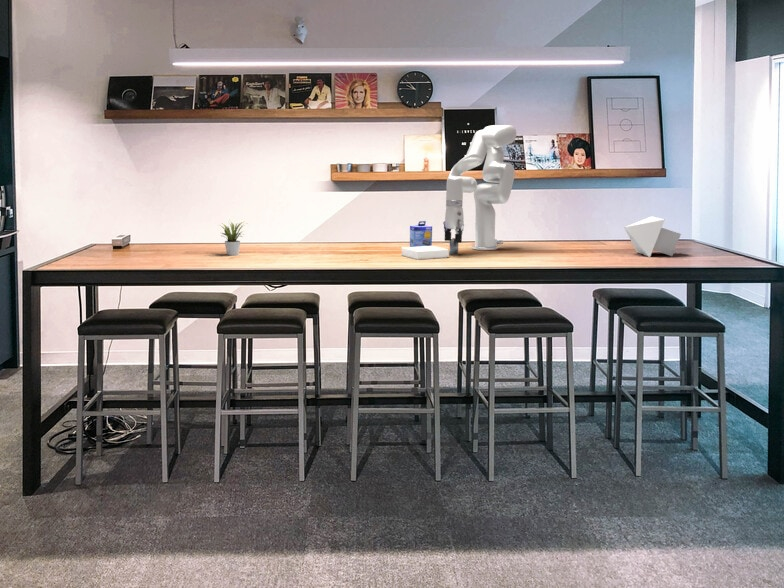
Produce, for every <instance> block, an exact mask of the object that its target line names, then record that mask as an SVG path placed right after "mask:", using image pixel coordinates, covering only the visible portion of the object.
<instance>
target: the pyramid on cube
mask: <svg viewBox="0 0 784 588" xmlns="http://www.w3.org/2000/svg"><path fill="white" fill-rule="evenodd" d="M664 223H665V219H664V218H660V217H657V216H656V217H655V216H653V215H651V216H649V217H647V218H644V219H642V220H639V221H636V222H634V223H632V224H629V225H626V226H624V227H623V228H624V230H625V232H626V234H627V235H628V238H629V239H630V241H631V244H632V246H633V247H634V250H635V251H636V253H637V254H640V255H642V254H643V256H645V257H648V258H651V256H652V253H653V251H656V252H659V253H661V254H665V255H667V256H669V257H673V256H674V253H675V250H676V248H677V246H678V243H679V240H680V238H681V235H682V234H681V233H679V232H676V231H673V230H671V229H667V228H663V225H664Z"/></svg>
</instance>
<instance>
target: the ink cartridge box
mask: <svg viewBox="0 0 784 588" xmlns="http://www.w3.org/2000/svg"><path fill="white" fill-rule="evenodd" d="M432 240H433V225H430V224H429V225H428V224H427V225H426V220H421V221H418V224H416V225H409V247H421V246H433V241H432Z"/></svg>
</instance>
